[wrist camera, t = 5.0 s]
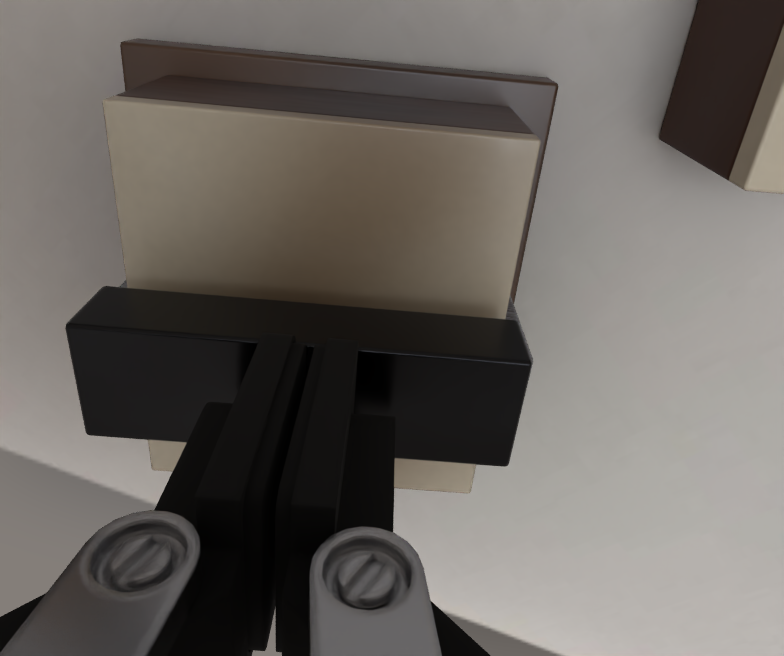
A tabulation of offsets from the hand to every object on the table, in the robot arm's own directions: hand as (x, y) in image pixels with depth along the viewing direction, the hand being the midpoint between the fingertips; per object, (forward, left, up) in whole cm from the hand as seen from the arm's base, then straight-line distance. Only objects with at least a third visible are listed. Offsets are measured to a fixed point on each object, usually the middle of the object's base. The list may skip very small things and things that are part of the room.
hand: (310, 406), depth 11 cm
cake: (0, 0, -7) cm, 7 cm away
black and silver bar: (0, 0, -6) cm, 6 cm away
